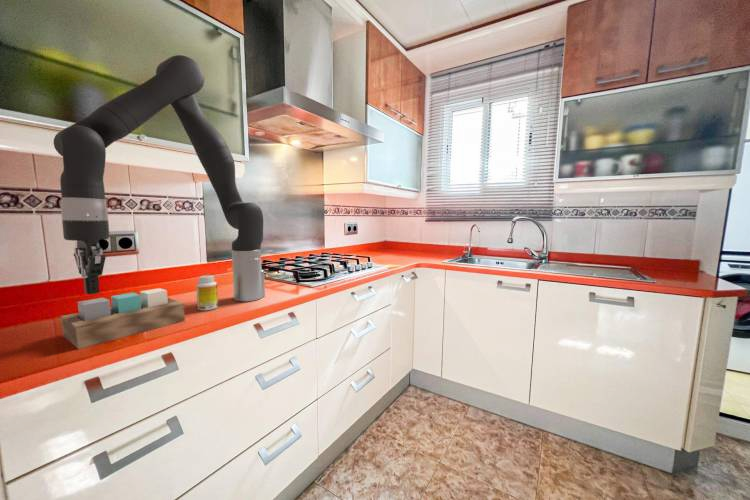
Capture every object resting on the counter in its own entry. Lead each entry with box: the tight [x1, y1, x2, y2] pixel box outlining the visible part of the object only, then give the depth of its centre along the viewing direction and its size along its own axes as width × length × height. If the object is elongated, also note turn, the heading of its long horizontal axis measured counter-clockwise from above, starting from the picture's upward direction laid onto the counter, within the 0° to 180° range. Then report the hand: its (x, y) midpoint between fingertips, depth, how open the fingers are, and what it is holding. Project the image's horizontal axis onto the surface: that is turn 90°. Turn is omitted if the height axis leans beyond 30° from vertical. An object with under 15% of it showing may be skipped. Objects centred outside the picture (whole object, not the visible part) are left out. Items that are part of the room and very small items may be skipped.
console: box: [60, 297, 186, 350], centre depth 75 cm, size 21×12×5 cm, turn 147°
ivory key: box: [139, 287, 169, 308], centre depth 79 cm, size 4×4×4 cm
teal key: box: [110, 292, 141, 314], centre depth 74 cm, size 4×4×4 cm
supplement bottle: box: [195, 274, 219, 312], centre depth 91 cm, size 6×6×10 cm
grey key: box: [77, 297, 111, 321], centre depth 69 cm, size 4×4×4 cm
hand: (92, 293), depth 69 cm, fingers closed
